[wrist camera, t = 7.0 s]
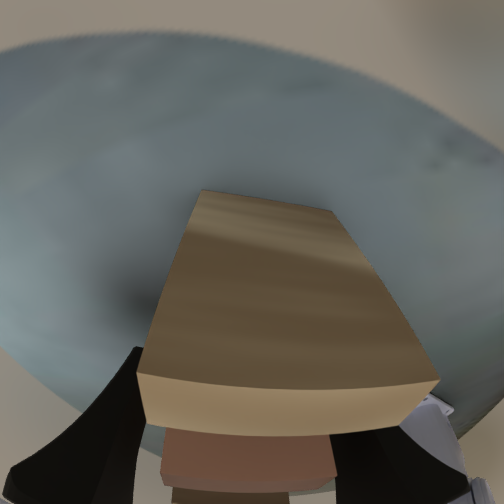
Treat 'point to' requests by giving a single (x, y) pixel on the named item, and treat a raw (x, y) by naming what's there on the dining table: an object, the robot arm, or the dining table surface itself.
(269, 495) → the domino
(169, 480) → the domino
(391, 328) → the domino
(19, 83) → the dining table surface
